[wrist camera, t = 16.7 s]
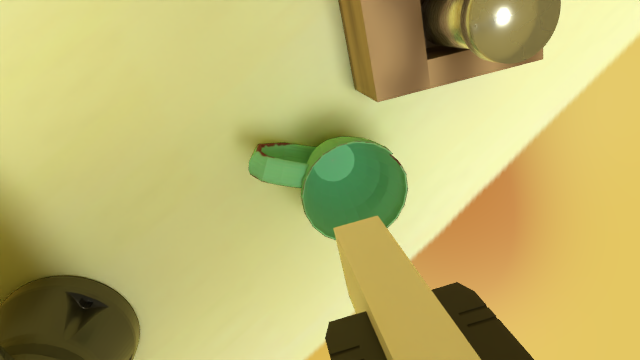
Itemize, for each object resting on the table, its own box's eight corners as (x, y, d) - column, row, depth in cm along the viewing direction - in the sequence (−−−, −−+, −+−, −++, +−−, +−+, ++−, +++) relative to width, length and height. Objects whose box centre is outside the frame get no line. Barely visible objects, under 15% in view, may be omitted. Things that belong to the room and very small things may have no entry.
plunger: (416, 61, 39) (475, 73, 29) (407, -14, 37) (467, -28, 27) (481, 44, 40) (560, 51, 30) (476, -30, 37) (560, -50, 27)
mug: (387, 129, 47) (423, 155, 38) (360, 208, 50) (387, 250, 41) (258, 95, 44) (263, 114, 34) (236, 182, 46) (235, 222, 37)
